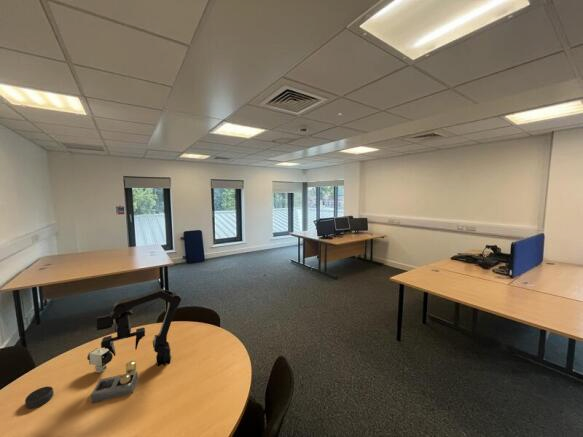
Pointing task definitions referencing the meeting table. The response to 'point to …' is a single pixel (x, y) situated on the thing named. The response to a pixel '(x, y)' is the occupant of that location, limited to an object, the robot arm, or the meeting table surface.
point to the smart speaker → (39, 397)
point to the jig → (113, 388)
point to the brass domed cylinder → (131, 367)
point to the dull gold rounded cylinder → (125, 379)
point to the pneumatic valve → (100, 359)
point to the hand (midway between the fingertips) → (125, 352)
